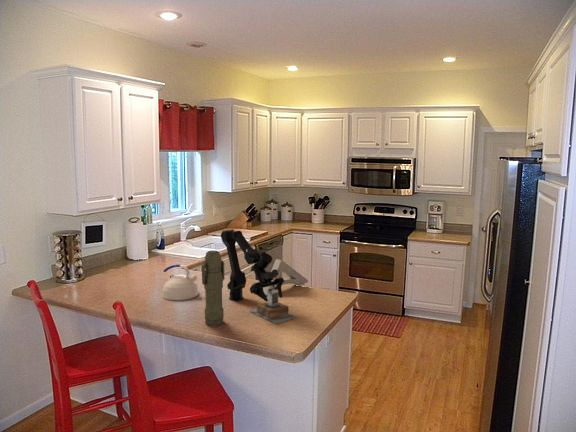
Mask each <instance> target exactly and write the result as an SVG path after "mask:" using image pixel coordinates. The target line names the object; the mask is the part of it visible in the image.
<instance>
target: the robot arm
mask: <svg viewBox="0 0 576 432" xmlns="http://www.w3.org/2000/svg"><path fill="white" fill-rule="evenodd" d="M220 238H221V241H222V243H223V245H224V246H225V247H226V252H227V256H228V260H229V265H230V266H229V267H230V270H231V273H230V275H229V282H228V283H227V285H226V286H227V289H228V290H230V291H229V297H228V300H231V301H233V302H237V301H242V300H244V299H245V297H243V294H244V293H243V289H245V287H246V284H247V277H246V273H245V272H244V271H242V270H241V267H240V262H239V256H238V252H237V247H236V243H237V245H238V247H240V250H241V251H242V252H243V255H244V256H243V258H244V259H245V262H246V263H247V264H248V265H251V268H250V272H254V274H255V276H256V278H255V279H256V281H258V282H254V283H252V284H251V286H250V287H249V292H250V293H251V294H253V295H256V296H257V297H259V298H260V299H262V300H264V302H266V303H267V301H268V300H267V296H266V295H265V293H264V291H263V288H264V287H268V286H273V287H274V288H275V289H278V298H279V297H280V299H282V298H283V292H282V286H283V285H282V284H283V282H284V279H283V278H284V277H282V276H280V277H279V278H276V279H275V280H274V281H273V282H272V280H273V278H274V277H277V275H278V271H277V270H276V269H275V270H272V269H271V270H272V272H271V271H267V270H266V269H267V268H268V266H269V265H270V264H271V263H272V262H273V257H272V255H270V254H269V253H267V252H266V251H262V252H261V253H259V251H258V250H257V249H255V248H253V247H252V245H251V244H250V243H249V242H248V240H247V239H246V238H245V236H244V235H243V231H241V230H235V229H229V230H228V229H226V230H222V232H221V233H220ZM281 285H282V286H281Z"/></svg>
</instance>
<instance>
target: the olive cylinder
mask: <svg viewBox="0 0 576 432" xmlns="http://www.w3.org/2000/svg"><path fill="white" fill-rule="evenodd" d="M225 277H226V276H225V262H224V260H222V257H221V254H220V251H218V250H208V251H206V252H205V256H204V261H203V263H202V264H201V282H202V286H203V288H204V290H205V298H204V299H205V308H204V319H205V322H204V323H205V325H206V326H209V327H218V326H220V325H223V324H224V316H225V315H224V307H223V287H224V280H225Z"/></svg>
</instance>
